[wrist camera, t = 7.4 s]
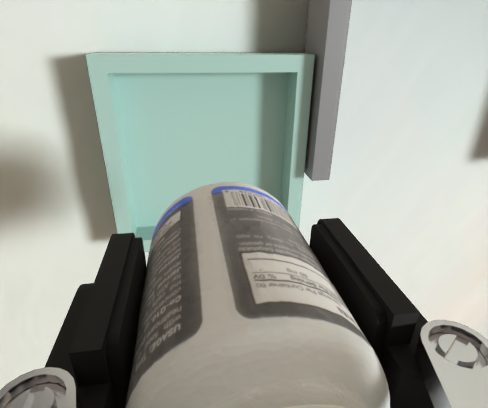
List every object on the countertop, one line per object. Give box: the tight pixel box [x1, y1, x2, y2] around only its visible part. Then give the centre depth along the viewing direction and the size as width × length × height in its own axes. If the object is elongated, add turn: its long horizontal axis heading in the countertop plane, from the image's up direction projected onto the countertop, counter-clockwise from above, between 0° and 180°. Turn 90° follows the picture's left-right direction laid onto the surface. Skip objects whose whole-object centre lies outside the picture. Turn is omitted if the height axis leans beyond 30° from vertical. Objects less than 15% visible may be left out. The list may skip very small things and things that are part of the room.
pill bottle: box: [125, 182, 390, 408], centre depth 8 cm, size 5×5×8 cm
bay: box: [304, 0, 352, 181], centre depth 17 cm, size 12×16×6 cm
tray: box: [85, 52, 315, 252], centre depth 19 cm, size 11×11×2 cm
